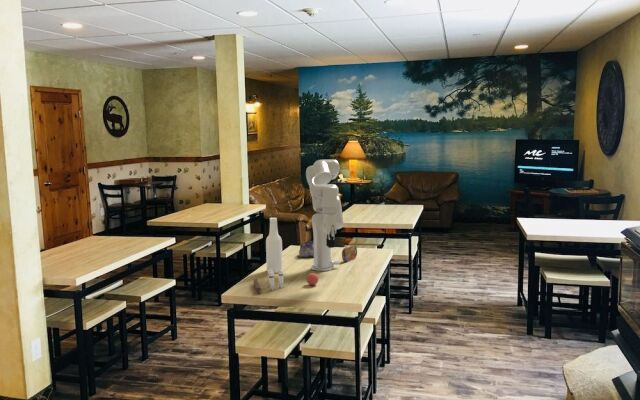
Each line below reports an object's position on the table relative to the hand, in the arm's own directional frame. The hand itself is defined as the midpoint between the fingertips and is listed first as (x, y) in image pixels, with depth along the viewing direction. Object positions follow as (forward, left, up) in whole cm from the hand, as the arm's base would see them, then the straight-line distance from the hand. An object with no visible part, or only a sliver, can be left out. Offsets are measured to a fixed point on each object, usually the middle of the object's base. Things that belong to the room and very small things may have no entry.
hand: (330, 246), depth 269 cm
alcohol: (+24, -31, -19) cm, 44 cm away
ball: (+9, 0, -16) cm, 19 cm away
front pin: (+25, 0, -19) cm, 32 cm away
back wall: (+37, 0, -19) cm, 42 cm away
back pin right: (+30, -3, -19) cm, 36 cm away
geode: (-3, -65, -20) cm, 68 cm away
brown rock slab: (-23, -45, -19) cm, 54 cm away
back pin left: (+30, +2, -19) cm, 36 cm away
